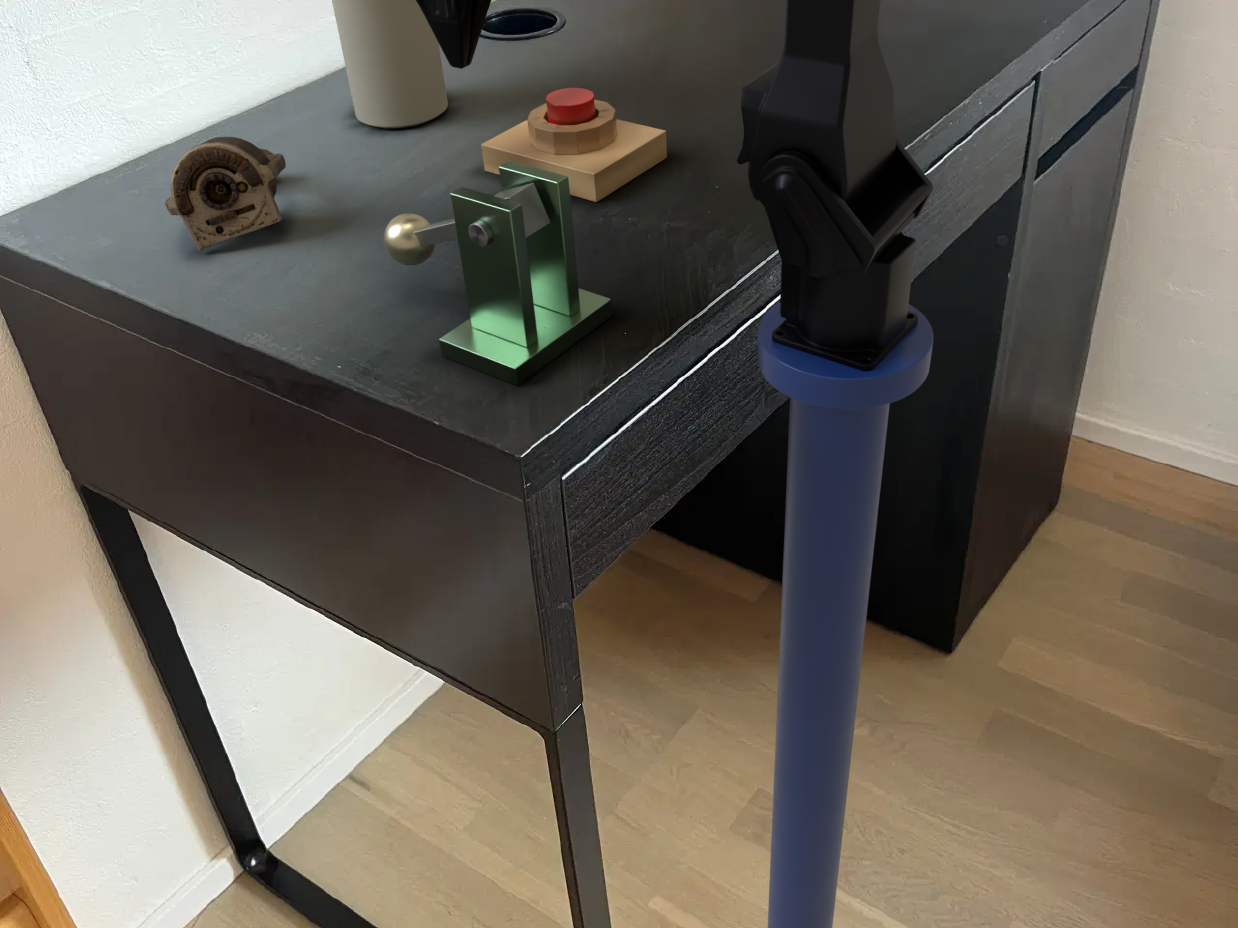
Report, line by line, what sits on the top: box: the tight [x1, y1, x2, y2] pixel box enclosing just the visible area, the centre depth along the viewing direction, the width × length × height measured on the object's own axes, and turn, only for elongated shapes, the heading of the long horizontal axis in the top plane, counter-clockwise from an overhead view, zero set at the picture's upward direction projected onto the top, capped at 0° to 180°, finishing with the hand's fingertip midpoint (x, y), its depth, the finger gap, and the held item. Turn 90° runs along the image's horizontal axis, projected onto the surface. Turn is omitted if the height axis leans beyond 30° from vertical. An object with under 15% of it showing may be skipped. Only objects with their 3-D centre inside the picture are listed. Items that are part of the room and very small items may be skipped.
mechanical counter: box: [164, 136, 287, 251], centre depth 82 cm, size 7×13×10 cm
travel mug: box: [331, 0, 449, 129], centre depth 93 cm, size 8×8×18 cm
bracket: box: [438, 161, 613, 387], centre depth 66 cm, size 6×9×10 cm, turn 143°
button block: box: [480, 98, 668, 203], centre depth 87 cm, size 11×9×4 cm
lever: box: [383, 183, 550, 266], centre depth 68 cm, size 13×3×3 cm, turn 53°
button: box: [545, 87, 596, 125], centre depth 85 cm, size 4×4×2 cm
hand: (460, 66), depth 72 cm, fingers closed
